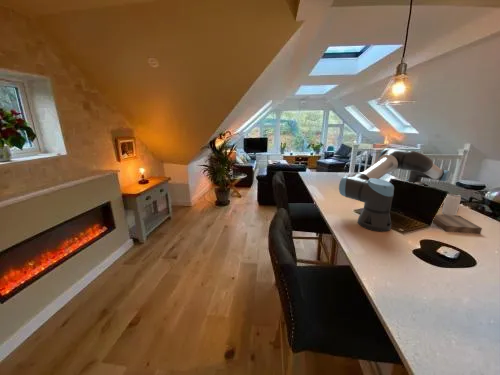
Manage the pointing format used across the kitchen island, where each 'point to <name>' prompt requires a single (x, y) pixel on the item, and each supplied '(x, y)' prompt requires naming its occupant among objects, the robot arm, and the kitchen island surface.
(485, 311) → the kitchen island surface
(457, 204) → the can
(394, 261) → the kitchen island surface
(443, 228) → the walnut board
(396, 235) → the kitchen island surface
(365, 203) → the robot arm
